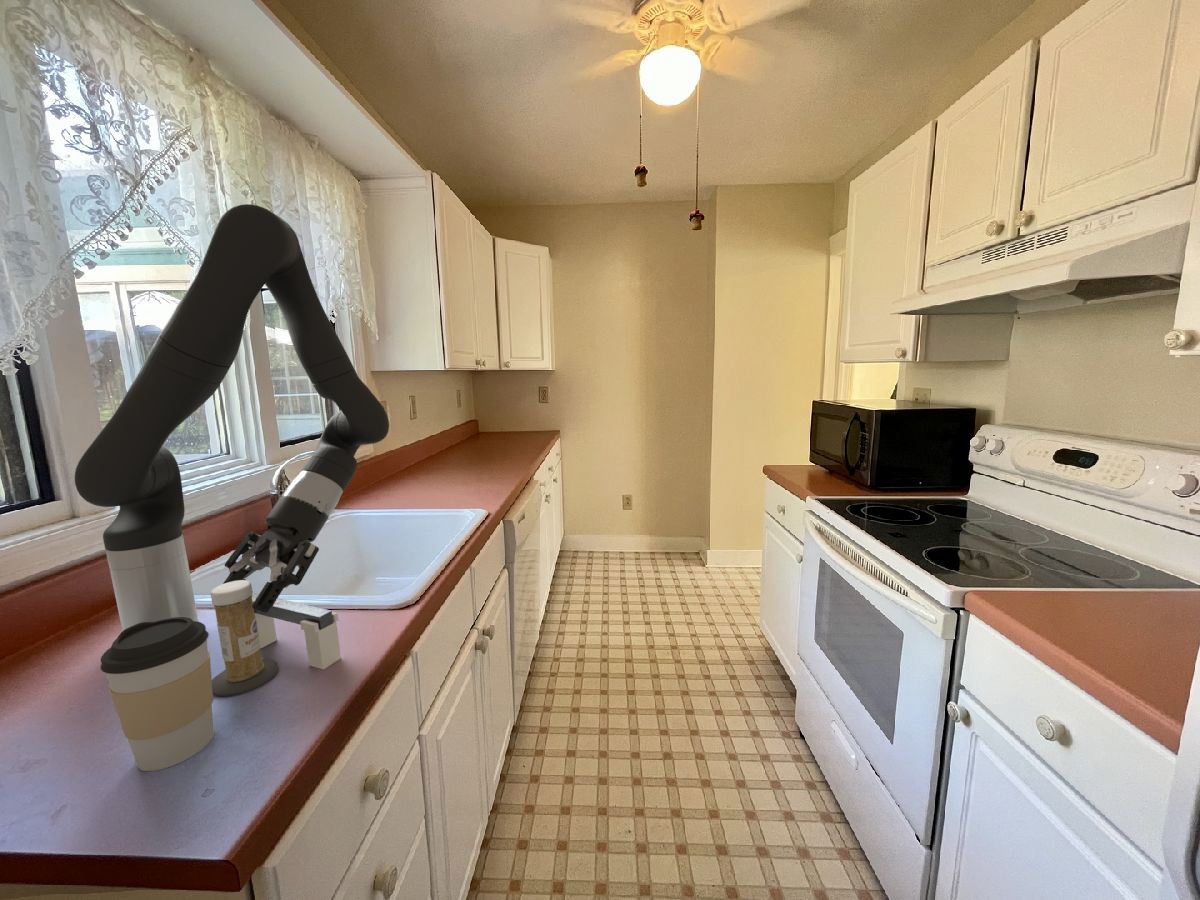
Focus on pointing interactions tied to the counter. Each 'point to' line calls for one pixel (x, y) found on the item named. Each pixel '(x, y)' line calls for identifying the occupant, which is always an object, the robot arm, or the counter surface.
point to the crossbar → (297, 612)
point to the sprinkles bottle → (237, 630)
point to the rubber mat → (227, 688)
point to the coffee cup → (162, 690)
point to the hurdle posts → (307, 639)
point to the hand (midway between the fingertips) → (239, 605)
